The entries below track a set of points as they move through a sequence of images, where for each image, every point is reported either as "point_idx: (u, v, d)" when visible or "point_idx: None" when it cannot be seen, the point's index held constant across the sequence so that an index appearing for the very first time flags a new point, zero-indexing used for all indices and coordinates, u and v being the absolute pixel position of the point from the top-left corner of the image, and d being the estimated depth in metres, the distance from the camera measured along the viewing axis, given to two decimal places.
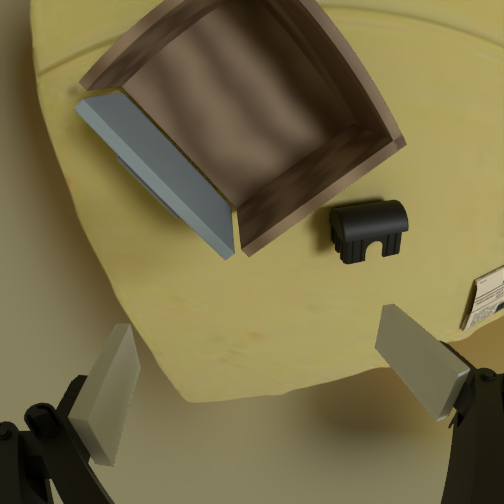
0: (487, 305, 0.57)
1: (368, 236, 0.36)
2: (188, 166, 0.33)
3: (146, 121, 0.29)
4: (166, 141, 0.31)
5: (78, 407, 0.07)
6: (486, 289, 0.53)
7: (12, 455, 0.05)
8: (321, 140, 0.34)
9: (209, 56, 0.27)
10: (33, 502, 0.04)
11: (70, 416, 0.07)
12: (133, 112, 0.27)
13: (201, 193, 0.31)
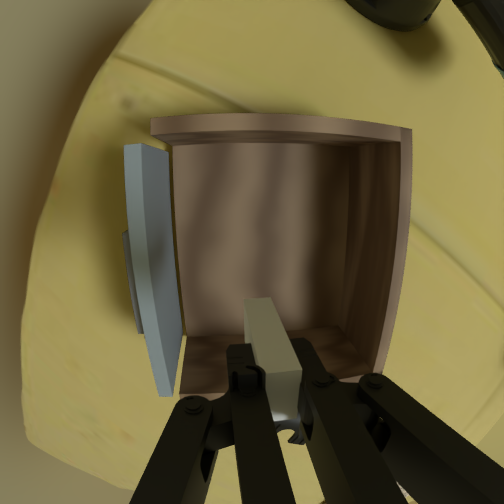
0: None
1: (288, 424, 0.33)
2: (173, 275, 0.29)
3: (168, 202, 0.28)
4: (170, 236, 0.29)
5: (265, 364, 0.10)
6: None
7: (196, 432, 0.07)
8: (302, 325, 0.35)
9: (269, 186, 0.30)
10: (196, 482, 0.06)
11: None
12: (165, 185, 0.26)
13: (171, 315, 0.26)
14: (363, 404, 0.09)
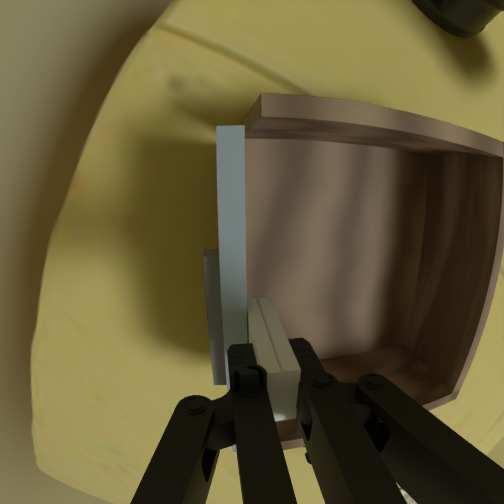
0: None
1: None
2: None
3: None
4: None
5: (266, 364, 0.10)
6: None
7: (198, 432, 0.07)
8: (370, 347, 0.30)
9: (352, 194, 0.25)
10: (197, 482, 0.06)
11: None
12: None
13: None
14: (362, 404, 0.09)
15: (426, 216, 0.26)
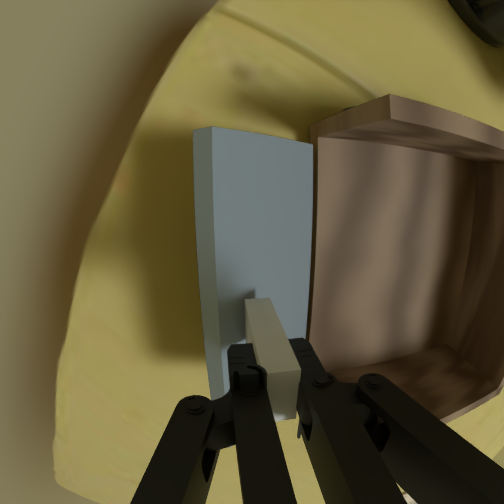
0: None
1: None
2: (299, 306, 0.23)
3: (305, 211, 0.21)
4: (305, 255, 0.22)
5: (266, 364, 0.10)
6: None
7: (197, 432, 0.07)
8: (420, 348, 0.28)
9: (416, 198, 0.23)
10: (197, 482, 0.06)
11: None
12: (297, 188, 0.20)
13: None
14: (362, 404, 0.09)
15: (474, 221, 0.24)
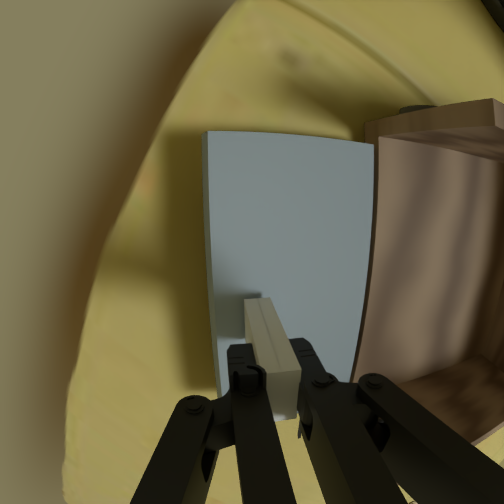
0: None
1: None
2: (345, 321, 0.20)
3: (358, 219, 0.18)
4: (357, 268, 0.19)
5: (266, 364, 0.10)
6: None
7: (197, 432, 0.07)
8: (458, 360, 0.24)
9: (467, 206, 0.20)
10: (196, 482, 0.06)
11: None
12: (343, 192, 0.17)
13: None
14: (363, 404, 0.09)
15: None
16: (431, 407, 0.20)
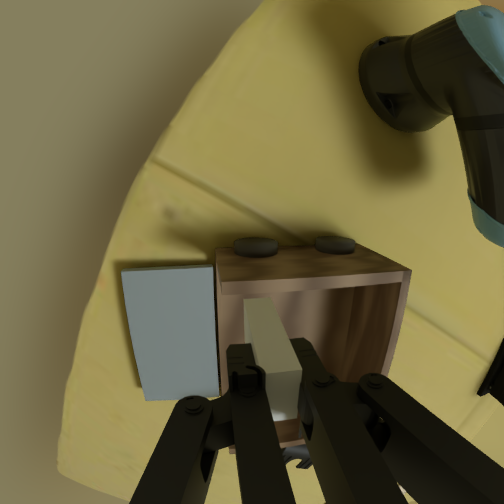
0: None
1: (298, 456, 0.40)
2: (204, 355, 0.38)
3: (203, 306, 0.36)
4: (207, 330, 0.37)
5: (265, 364, 0.10)
6: None
7: (196, 432, 0.07)
8: None
9: (293, 293, 0.37)
10: (196, 482, 0.06)
11: None
12: (191, 294, 0.35)
13: (178, 372, 0.37)
14: (363, 404, 0.09)
15: (353, 301, 0.39)
16: None
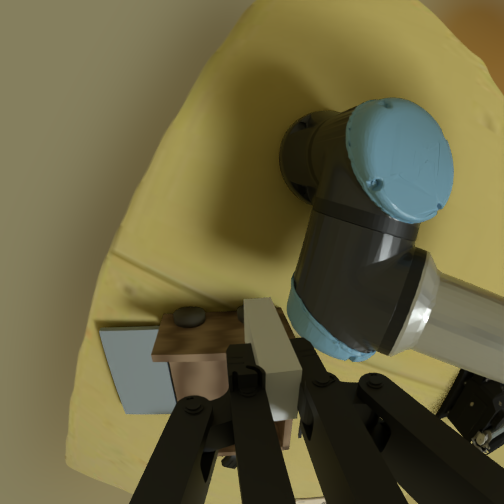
0: None
1: None
2: (163, 386, 0.49)
3: None
4: (162, 369, 0.48)
5: (265, 364, 0.10)
6: None
7: (196, 432, 0.07)
8: None
9: None
10: (196, 482, 0.06)
11: None
12: (148, 346, 0.46)
13: (146, 396, 0.49)
14: (363, 404, 0.09)
15: None
16: None
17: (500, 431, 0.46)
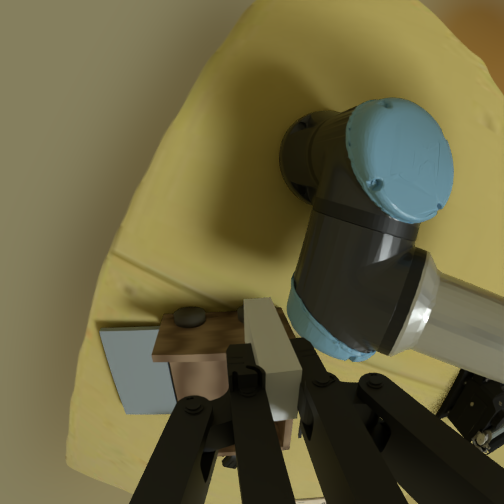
0: None
1: None
2: (163, 386, 0.49)
3: None
4: (162, 369, 0.48)
5: (265, 364, 0.10)
6: None
7: (196, 432, 0.07)
8: None
9: None
10: (196, 482, 0.06)
11: None
12: (148, 346, 0.46)
13: (146, 396, 0.49)
14: (363, 404, 0.09)
15: None
16: None
17: (500, 431, 0.46)
